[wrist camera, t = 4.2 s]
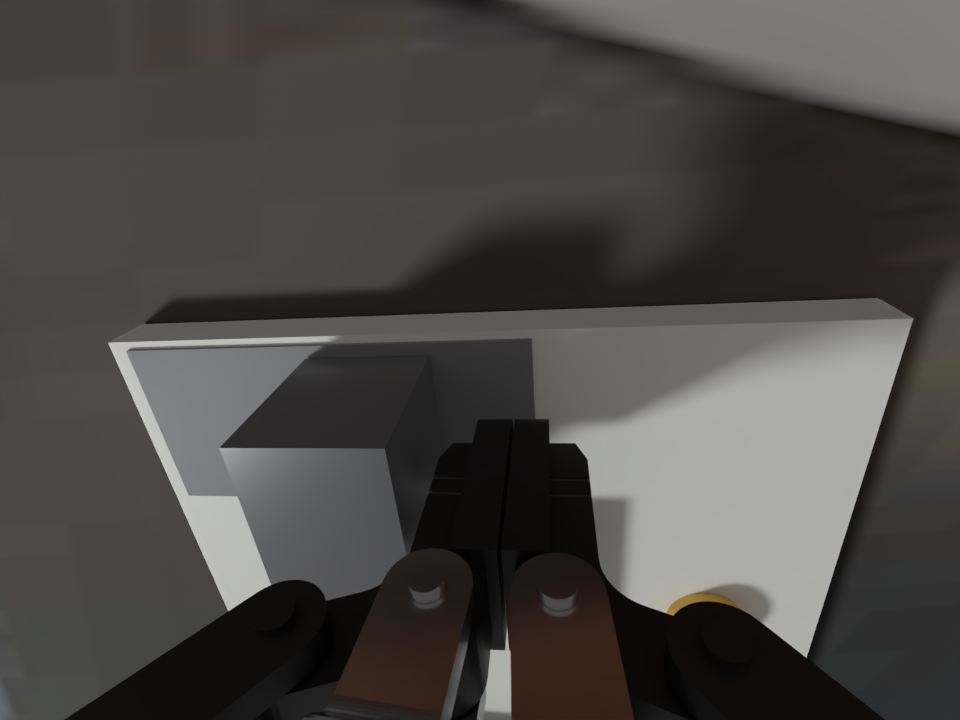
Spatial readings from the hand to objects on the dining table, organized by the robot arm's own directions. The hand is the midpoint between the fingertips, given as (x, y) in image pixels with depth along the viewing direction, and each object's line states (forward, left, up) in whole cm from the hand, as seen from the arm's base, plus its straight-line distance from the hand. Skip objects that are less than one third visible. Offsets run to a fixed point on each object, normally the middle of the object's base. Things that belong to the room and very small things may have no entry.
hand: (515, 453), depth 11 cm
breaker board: (+1, +6, -3) cm, 6 cm away
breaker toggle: (+3, 0, -1) cm, 4 cm away
